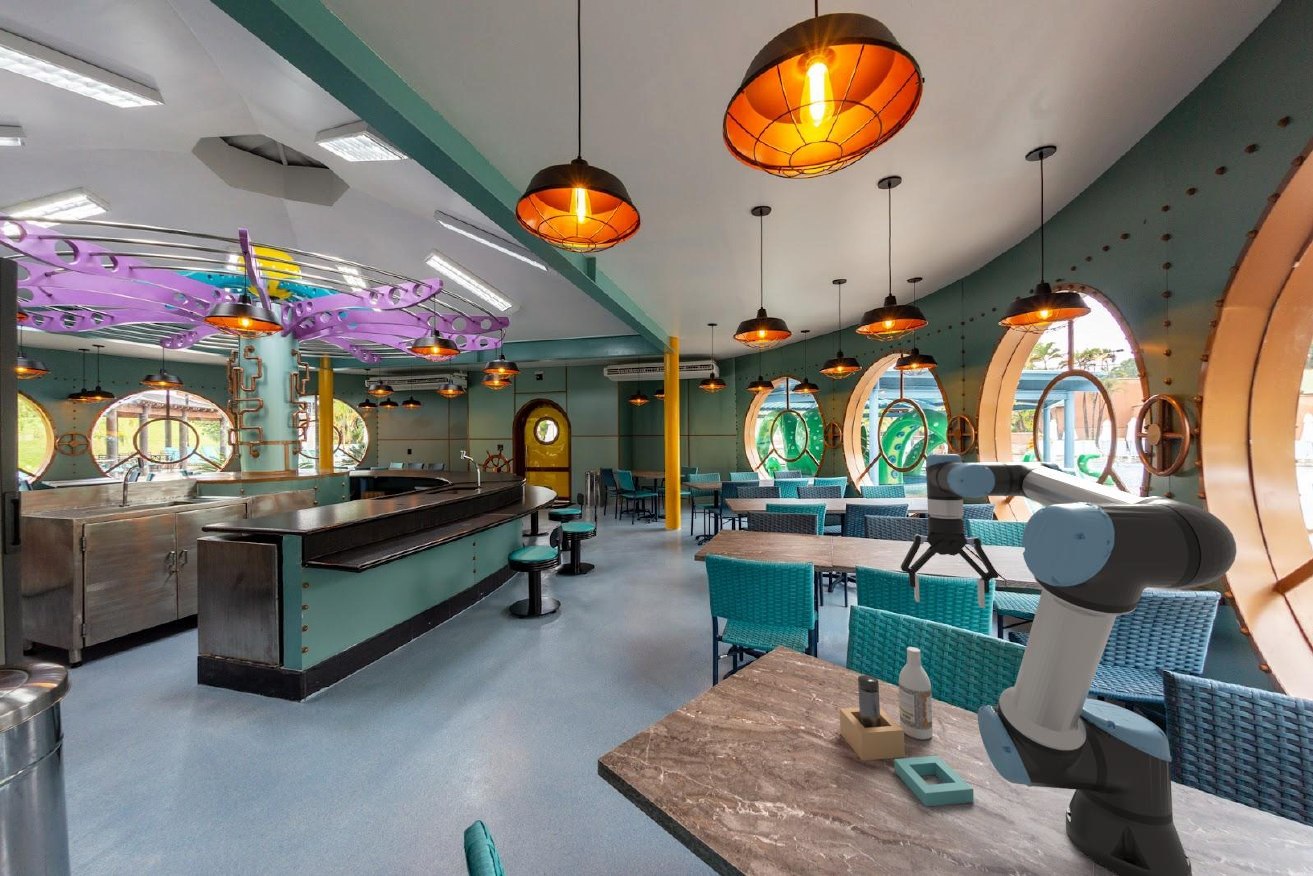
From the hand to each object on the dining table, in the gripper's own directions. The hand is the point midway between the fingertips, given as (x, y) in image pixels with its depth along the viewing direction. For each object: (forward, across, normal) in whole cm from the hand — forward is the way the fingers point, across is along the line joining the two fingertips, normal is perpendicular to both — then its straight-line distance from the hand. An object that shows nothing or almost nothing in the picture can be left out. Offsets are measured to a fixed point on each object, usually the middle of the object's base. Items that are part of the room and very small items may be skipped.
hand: (948, 603), depth 113 cm
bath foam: (+32, +8, +2) cm, 33 cm away
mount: (+31, +8, +22) cm, 39 cm away
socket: (+31, +19, +12) cm, 38 cm away
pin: (+30, +19, +12) cm, 37 cm away
